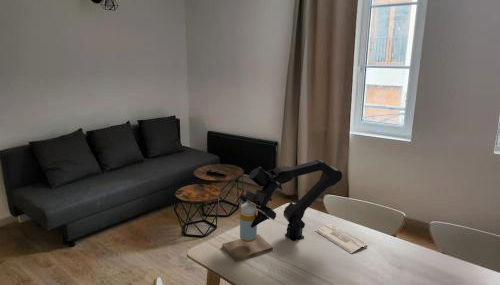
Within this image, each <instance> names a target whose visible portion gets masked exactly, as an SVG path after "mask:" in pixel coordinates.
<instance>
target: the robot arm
mask: <svg viewBox="0 0 500 285" xmlns="http://www.w3.org/2000/svg"><path fill="white" fill-rule="evenodd" d="M319 171H320V172H322V173H321V176H320V177H319V179H318V181H317V182H316V183H315V184H314V185H313V186H312V187H311V188H310V189H309V190H308V191H307V192H306V193H304V195H303V196H302V197H301V198H300V199H299V200H298V201H297V202H295V203H293V202H292V201H290V203H289V204H288V205H287V206H285V207H284V210H283V217H284V218H285V219H286V221H287V222H288V223H287V227H286V233H284V236H286V237H287V238H288V239H290V240H291V241H292V242H295V241H299V240H301V239H305V236H304V235H303V229H304V228H305V226H306V223H305V221H304V220H303V218H304V215H305V213H306V210H307V209H308V208H309V207H310V206H311V205H312V204H313V203H315V201H316V200H317V199H318V198H319V197H320V196H321V195H322V194H323V193H324V192H325V191H326V190H327V189H329V188H330V187H333V186H335V185H337V184H338V183H340V181H342V180H343V172H342V171H341V170H340V169H337V167H335V166H332V165H328V164H326V162H325V161H323V160H322V159H315V160H313V161H309V162H308V161H307V162H305V163H301V164H298V165H297V164H296V165H294V166H285V165H284V166H281V165H280V166H276V167H274V169H269V170H266V171H265V170H264V169H263V168H262V167H261V166H258V167H256V168H254V169H253V170H251V172H250V173H249V175H248V179H249V180H250V181H251V182H253V183H254V184H255V185H256V186H258V187H261V188H260V189H257V190H256V191H253V190H249V189H247V190H246V192H245V193H244V194H240V196H239V198H238V200H239V201H240V202H241V205H242V204H244V203H253V204H255V205H256V210H257V212H256V215H257V216H256V218H255V219H254V221H253V223H252V225H251V227H252V228H253V227H255V226H256V225H257V226H258V225H260V224H261V223H263V222H266V221H267V220H270V219H271V220H273V221H274V220H275V219H276V217H277V212H276V211H274V210H273V209H272V208H270V207H269V206H267V205H268V203H269V202H272V201H273V199H272V197H273V195H274V194H275V192H276V191H277V190H280V191H282V190H283V187H282V185H284V184H287V183H289V182H291V181H292V180H293V179H295V178H296V177H301V176H304V175H308V174H312V173H315V172H319Z"/></svg>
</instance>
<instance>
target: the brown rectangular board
mask: <svg viewBox="0 0 500 285" xmlns="http://www.w3.org/2000/svg"><path fill="white" fill-rule="evenodd" d="M221 245H222V246H221V247H222V249H223V250H224V251H225V252H226V253H227V255H228V256H229V257H230V258H231V259H232V260H233V261H234V262H235V263H236V262H238V261H242V260H246V259H250V258H253V257H255V256H258V255H262V254H265V253H269V252H272V251H274V247H273V246H272V245H271V244H270V243H269V242H268V241H267V240H266V239H265V238H264V237H262V235H261V234H259V233H257V237H256V239H255V240H254V241H252V242H245V241H243V240H242V239H241V238H240V239H234V240H231V241H228V242H225V243H222V244H221Z"/></svg>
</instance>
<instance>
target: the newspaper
mask: <svg viewBox="0 0 500 285" xmlns="http://www.w3.org/2000/svg"><path fill="white" fill-rule="evenodd" d="M314 232H316V233H317V234H318V235H319V236H322V237H324V239H326V240H328V241H330V242H331V243H333V244H334V245H336V246H338V247H339V248H341V249H342V248H343V249H342V250H344V251H345V252H347V253H349V254H350V253H351V254H352V253H355V252H356V251H358V250H359V249H362V248H361V247H363V246H364V247H366V248H367V247H368V245H369V243H367V242H365V241H363V240H362V239H359V238H358V237H355V236H353V235H352V234H350V233H348V232H346V231H344V230H342V229H340V228H339V227H337V226H335V225H334V224H332V223H327V224H325V225H323V226H321V227H318V228H316V229H315V231H314Z"/></svg>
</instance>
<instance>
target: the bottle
mask: <svg viewBox="0 0 500 285" xmlns="http://www.w3.org/2000/svg"><path fill="white" fill-rule="evenodd" d="M256 216H257V208H256V205H255V204H253V203H244V204H242V203H241V205H240V216H239V238H240V239H242V240H243V241H245V242H252V241H254V240H255V239H256V237H257V234H258V232H257V231H258V225H256V226H255V227H253V228H252V227H251V225H252V223H253V221H254V219H255V218H256Z"/></svg>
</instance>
